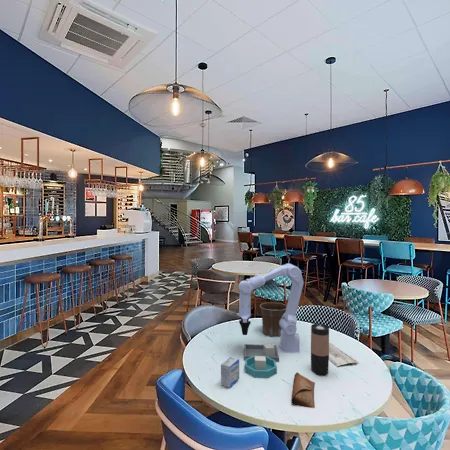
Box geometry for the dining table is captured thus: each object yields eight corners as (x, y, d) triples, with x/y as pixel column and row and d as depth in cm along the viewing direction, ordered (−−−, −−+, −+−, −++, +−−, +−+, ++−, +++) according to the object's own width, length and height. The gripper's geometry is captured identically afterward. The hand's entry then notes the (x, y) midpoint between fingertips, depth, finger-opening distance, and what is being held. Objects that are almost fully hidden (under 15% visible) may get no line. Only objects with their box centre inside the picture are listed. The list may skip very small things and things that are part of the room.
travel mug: (319, 378, 121) (320, 331, 120) (306, 369, 127) (307, 325, 127) (332, 373, 124) (333, 328, 124) (319, 365, 131) (319, 322, 130)
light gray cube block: (271, 352, 142) (271, 343, 142) (274, 356, 138) (274, 347, 138) (263, 353, 142) (263, 344, 142) (266, 357, 138) (266, 348, 138)
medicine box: (229, 388, 113) (230, 366, 113) (220, 385, 115) (220, 363, 115) (239, 379, 119) (239, 358, 119) (230, 376, 122) (230, 356, 122)
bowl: (274, 363, 133) (274, 356, 133) (277, 379, 119) (277, 371, 119) (245, 362, 134) (245, 355, 134) (245, 378, 120) (245, 370, 120)
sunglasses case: (316, 409, 100) (306, 391, 101) (298, 415, 102) (288, 398, 103) (315, 381, 118) (306, 366, 119) (300, 387, 120) (291, 373, 120)
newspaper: (360, 365, 132) (360, 360, 132) (337, 371, 130) (337, 365, 130) (332, 344, 154) (332, 339, 154) (312, 348, 152) (311, 344, 152)
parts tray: (276, 350, 146) (276, 345, 146) (279, 362, 133) (279, 357, 133) (244, 348, 147) (244, 344, 147) (244, 361, 134) (244, 356, 134)
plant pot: (259, 327, 178) (259, 301, 178) (286, 328, 176) (286, 302, 175) (259, 337, 162) (259, 309, 161) (288, 339, 159) (288, 310, 159)
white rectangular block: (265, 367, 128) (265, 356, 128) (265, 371, 124) (265, 360, 124) (254, 366, 129) (254, 356, 128) (254, 371, 125) (254, 360, 124)
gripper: (237, 300, 151) (237, 326, 151) (236, 309, 136) (236, 337, 137) (250, 301, 150) (250, 326, 151) (251, 309, 136) (251, 337, 136)
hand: (244, 331), depth 144 cm, fingers open, 7 cm apart
